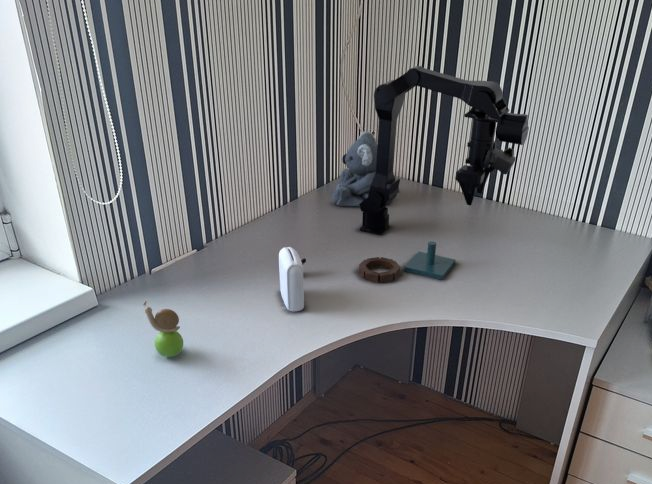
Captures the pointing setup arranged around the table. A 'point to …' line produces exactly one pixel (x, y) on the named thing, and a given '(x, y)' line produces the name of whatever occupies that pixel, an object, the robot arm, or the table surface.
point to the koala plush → (357, 172)
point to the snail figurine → (165, 331)
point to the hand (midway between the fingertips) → (474, 199)
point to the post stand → (430, 263)
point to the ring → (378, 276)
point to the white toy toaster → (291, 279)
